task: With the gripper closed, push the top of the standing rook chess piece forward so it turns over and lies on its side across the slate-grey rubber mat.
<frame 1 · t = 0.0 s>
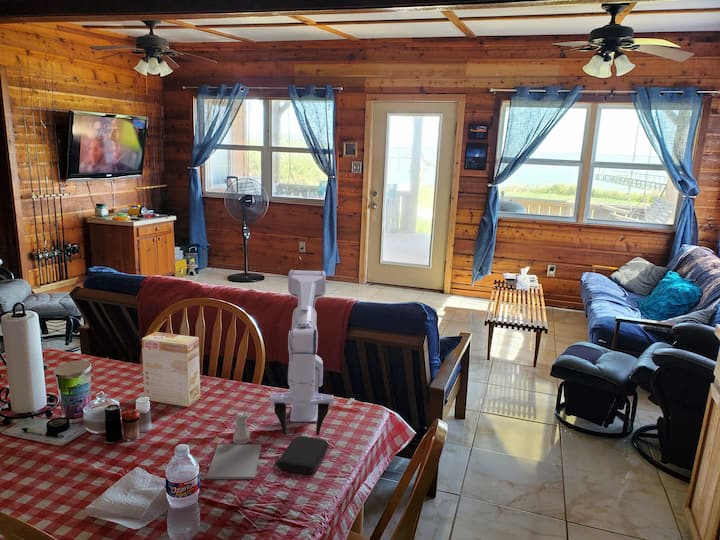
hand: (301, 432, 127), 10 cm above the table, tool pointing down, fingers open, 7 cm apart
coffeecake box: (172, 399, 164), on the table
rook chess piece: (241, 441, 142), on the table
slate mat: (235, 462, 132), on the table
carrying case or bag: (301, 460, 135), on the table
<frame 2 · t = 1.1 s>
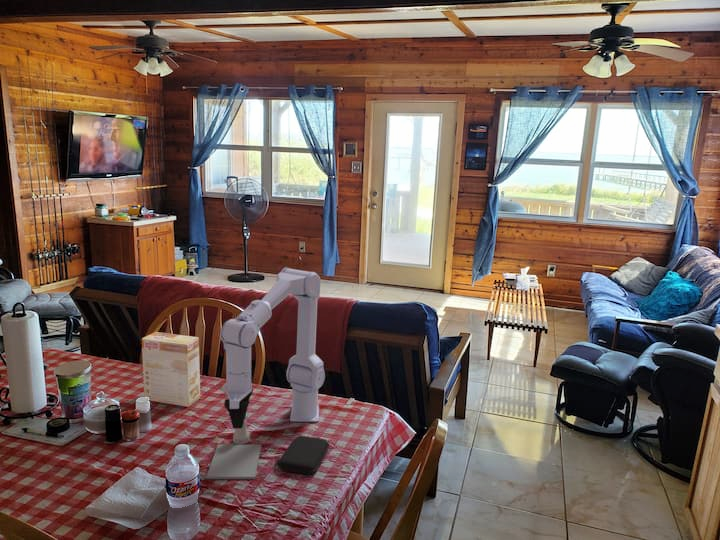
hand: (239, 422, 130), 10 cm above the table, tool pointing down, fingers open, 4 cm apart
nothing on the table moved.
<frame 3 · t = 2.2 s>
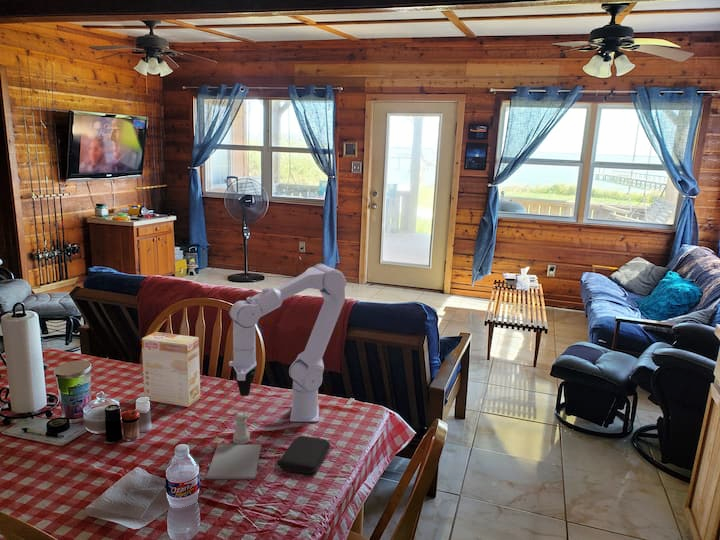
hand: (244, 394, 145), 10 cm above the table, tool pointing down, fingers closed
nothing on the table moved.
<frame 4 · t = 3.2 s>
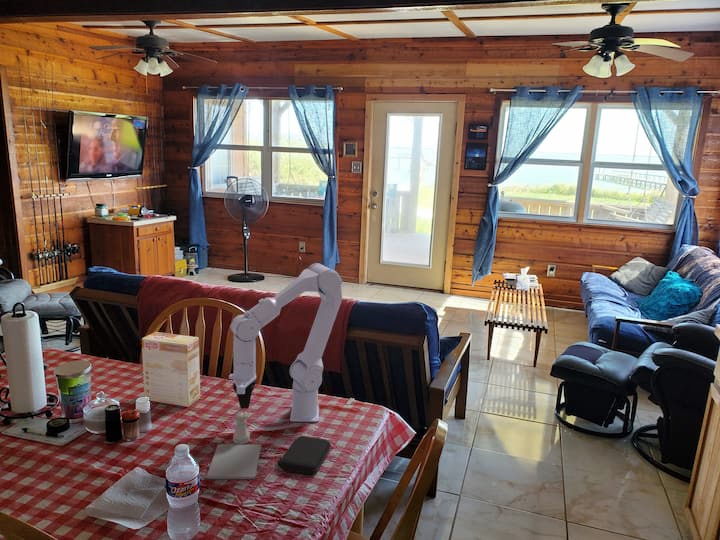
hand: (244, 407, 147), 6 cm above the table, tool pointing down, fingers closed
nothing on the table moved.
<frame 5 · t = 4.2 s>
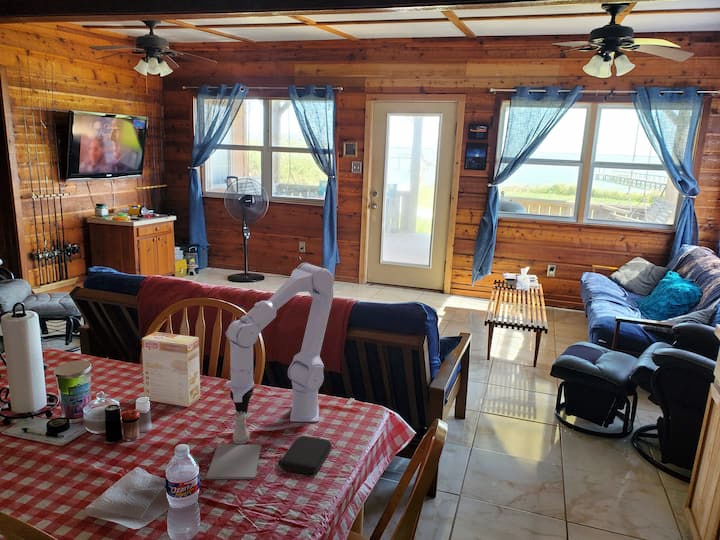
hand: (242, 415, 142), 6 cm above the table, tool pointing down, fingers closed
rook chess piece: (241, 440, 142), on the table, touching gripper
everything else where it was.
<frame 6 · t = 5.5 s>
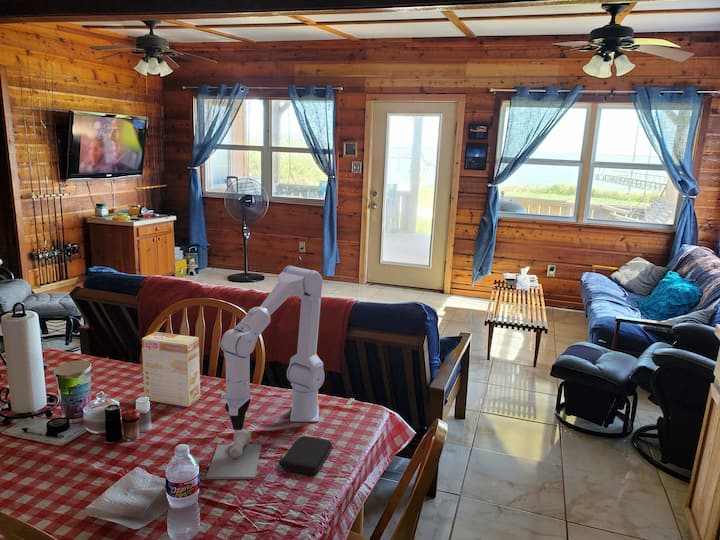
hand: (238, 428, 136), 6 cm above the table, tool pointing down, fingers closed
rook chess piece: (243, 434, 140), point 3 cm above the table, touching slate mat
everything else where it was.
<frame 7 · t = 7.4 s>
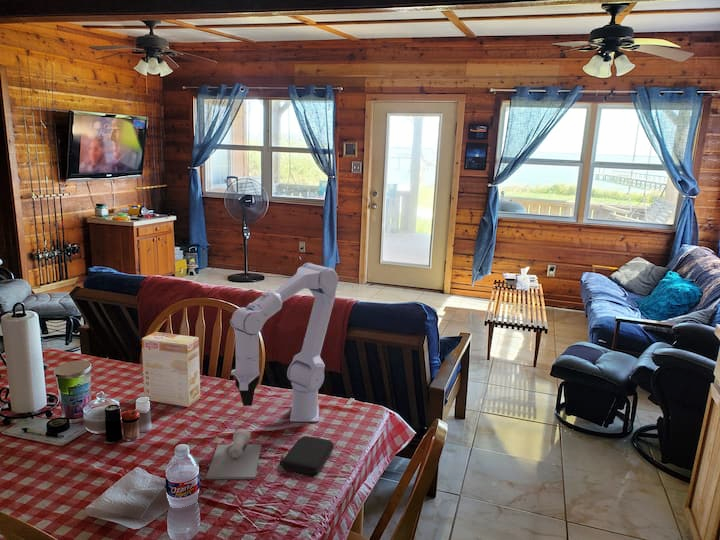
hand: (247, 404, 140), 10 cm above the table, tool pointing down, fingers closed
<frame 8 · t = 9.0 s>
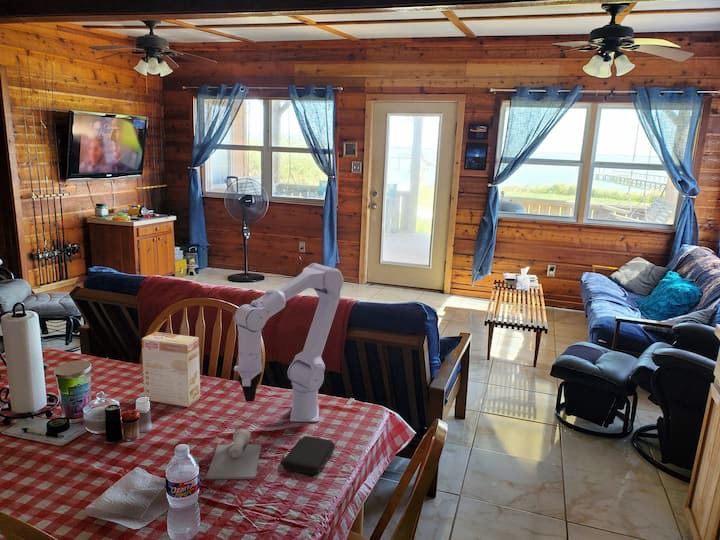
hand: (250, 400, 142), 10 cm above the table, tool pointing down, fingers closed
at the end: rook chess piece tilted 95°; rook chess piece touching slate mat; rook chess piece inside the target area (3.6 cm from its centre), point 2.9 cm above the table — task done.
